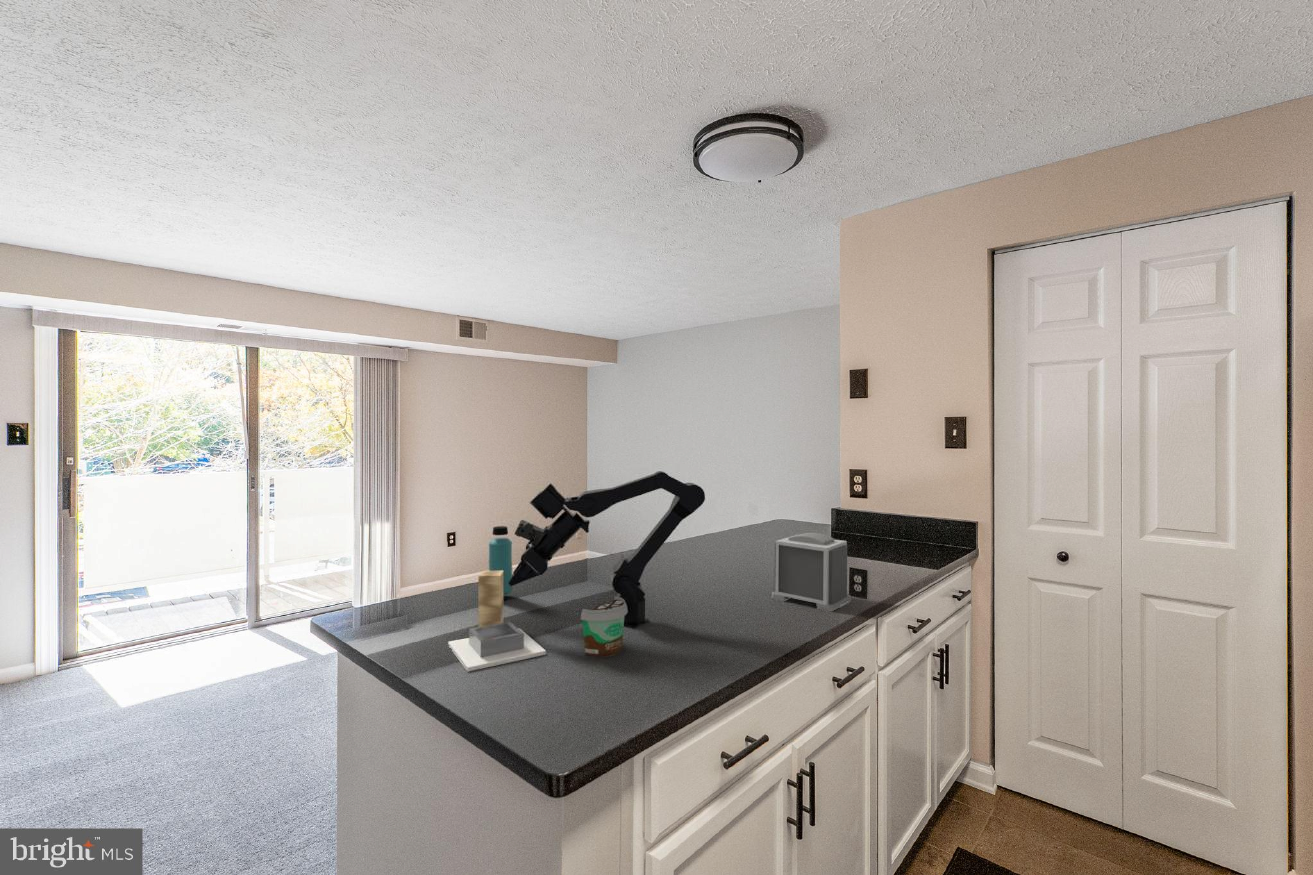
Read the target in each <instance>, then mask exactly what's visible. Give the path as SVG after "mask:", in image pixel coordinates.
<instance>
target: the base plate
mask: <svg viewBox="0 0 1313 875" xmlns="http://www.w3.org/2000/svg"><path fill="white" fill-rule="evenodd" d="M518 629H519V630H520V631H521V632H523V633H524V649H520V650H515V651H510V652H505V653H501V654H496V655H491V656H486V657H481V658H480V656H479V655H478V654H477V653H476V652H475V650H474V649H473V648H472V647H471V646H470V644H469V637H466V638H461V639H456V640H455V639H454V640H449V641H447V646H448V645H449V646H448V647H449V649H450V648H451V649H452V650H451V649H450V650H451V651H452V653H453V654H454V655H455V657H456V658H457V660H458V661H459V662H460V663H461V665H462V667H463V668H464V669H465V671H466V672H467V673H468V672H472V671H478V670H482V669H486V668H489V667H490V668H491V667H495V666H499V665H504V664H508V663H513V662H518V661H523V660H527V659H531V658H535V657H540V656H546V654H547V652H546V649H544V648H543V647H542V646H541V645H540V644H538V643H537V642H536V641H535V640H534V639H532V637H530V636H529V635H528V634H527V633H526V632H525V631H523V630H522V628H519V627H518Z"/></svg>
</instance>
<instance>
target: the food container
mask: <svg viewBox="0 0 1313 875" xmlns="http://www.w3.org/2000/svg"><path fill="white" fill-rule="evenodd" d="M613 599H614V600H611V601H609V602H607V603H600V604H598V605H597V606H595V607H593V608H592V609H585V608H582V611H581V614H580V620H581V621H582V626H583V627H582V630H583V642H584V643H583V644H584V656H585V657H588V658H607V657H612V656H615V655H617V654H619V653H620V652H621V651H622V648H623V640H624V639H623V636H624V628H625V626H624V616H625V615H626V614H627V613H628V610H627V605H626V603H625V600H624V599H623V598H620V597H618V595H617V596H616V595H614V597H613Z"/></svg>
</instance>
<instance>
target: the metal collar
mask: <svg viewBox="0 0 1313 875" xmlns="http://www.w3.org/2000/svg"><path fill="white" fill-rule="evenodd" d="M523 632H524V631H523ZM523 632H521V631H520V630H519V627H517V626H516V625H515V624H514V623H512V622H511V621H505V622H504V621H503V623H499V624H493V625H487V626H482V627H471V628H468V638H469V644H470V646H471V647H472V648H473V649H474V650H475V652H476V653H477V654H478V655H479V656H480V658H481V657H486V656H491V655H496V654H501V653H505V652H510V651H515V650H520V649H524V633H523Z"/></svg>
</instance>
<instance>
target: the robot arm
mask: <svg viewBox="0 0 1313 875" xmlns="http://www.w3.org/2000/svg"><path fill="white" fill-rule="evenodd" d="M661 489H662V490H664V491H666V492H668V493H670V494H672V495H674V497H673V499H672V501H671V504H670V506H669V508H668V510H667V511H666V512H665V514H664V515H663V516H662V517H661V519H660V520H659V521H658V522H657V524H655V526H654V527H653V528H652V530H651V531H650V532H649V534H648V535H647V536H646V537H645V538H644V539H643V541H642V542H641V543H640V544H639V546H638V547H637V549H635V551H634V552H633V553H632V554H630V555H629V556H628V557H626V556H625V555H624V554H622V555H621V556H620V557H619V559H618V561H617V562H616V564H613V565H612V566H611V567H612V571H611V573H610V578H611V579H610V580H611V586H612V587H613V588H612V589H613V590H614V591H615V593H617V594H619V595H617V597H620V598H623V599H624V600H625V603H626V605H627V610H628V613H627V614H626V615H625V616H624V627H627V628H632V629H635V628H637V627H639V626H641V625H643V624H646V623H648V622H650V619H649V618H647V617H646V597H645V595H646V593H645V589H644V587H643V585H642V582H640V580H641V578H642V576H643V573H644V570H645V568H646V566H647V565H648V563H649V562H650V560H652V558H653V557H654V556H655V555H656V553H657V552H658V550H660V548H661V547H662V546H663V545H664V543H666V541H667V540H668V538H670V536H671V535H672V533H673V532H674V531H675V530H676V528H677V527H678V526H679V524H681V522H682V521H684V520H685V519H686V518H687V517H690V515H692V514H693V513H695V512H696V511H697V510H698V509H699V508H700V507H701V506H702V505H703V504H704V502H705V500H706V493H705V491H704V490H705V489H703V488H702V487H701V486H700V485H699V484H696V483H693V482H685V483H684V482H682V481H680V480H678V479H676V478H675V477H673V476H671V475H669V474H668V473H666V472H665V471H661V470H660V471H659V470H658V471H656V472H654V473H652V474H650V475H646V476H643V477H640V478H637V479H634V480H631V481H628V482H625V483H622V484H619V485H616V486H613V487H608V488H599V489H593V490H586V491H583V492H581V493H580V494H579V496H578V495H576V496H572V497H571V496H569V497H565V496H564V495H562V494H561V492H559V490H558V489H557V488H556V486H555V485H554V484H553V483H549V484H548V485H547V486H546V487H545V488H543V490H541V491H539V492H538V493H537V494H536V496H534V497H533V498H532V499H531V500H530V501H529V504H530V505H531V506H532V507H533V508H534V509H535V510H536V511H537V512H538V513H539V514H540V515H541V516H542V517H543V518H544V519H545V520H547V519H548V518H549V519H551V520H553V519H555V520H554V521H552V523H551V524H550V525H546V526H545V527H544V528H541V527H539V526H537V525H536V524H533V523H531V522H530V521H526V520H524V519H521V520H520V521H519V523H518V525H517V527H516V529H515V531H514V535H515V536H517V537H521V538H523V539H525V540H528V542H527V543H526V546H525V550H524V551H523V553H522V554H521V555H520V556H521V557H520V561H519V563H518V565H517V566H516V568H515V569H514V571H513V573H512V578H511V580H510V581H509V583H508V584H509V585H510V586H512V587H513V586H516V585H518V584H520V583H523V582H525V581H528V580H530V579H533V578H536V577H540V576H542V575H544V573H546V571H548V569H549V568H548V567H549V562H550V561H552V559H553V557H554V556H555V554H556V553H558V552H559V551H560V549H563V548H564V547H565V545H566V543H567V542H569V540H570V539H571V538H573V537H574V535H575V534H576V533H578V532H579V531H580V530H581V529H582V530H583V531H584V532H585V533H586V534H588V533H589V532H590V530H589V529H590V528H589V527H590V523H591V521H590V520H589V519H584V518H583V517H585V518H594V517H595V516H597V515H600V514H601V513H603V512H604V511H606V510H608V509H609V508H611V507H612V506H614V505H616V504H618V503H622V502H623V501H627V500H629V499H630V500H631V499H634V498H636V497H639V496H642V495H645V494H648V493H652V492H653V491H657V490H661ZM562 511H563V512H562ZM572 511H573V512H575V513H572ZM561 512H562V513H561ZM560 513H561V514H560ZM559 514H560V515H559ZM558 515H559V516H558ZM557 516H558V517H557ZM555 517H557V518H555Z"/></svg>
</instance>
